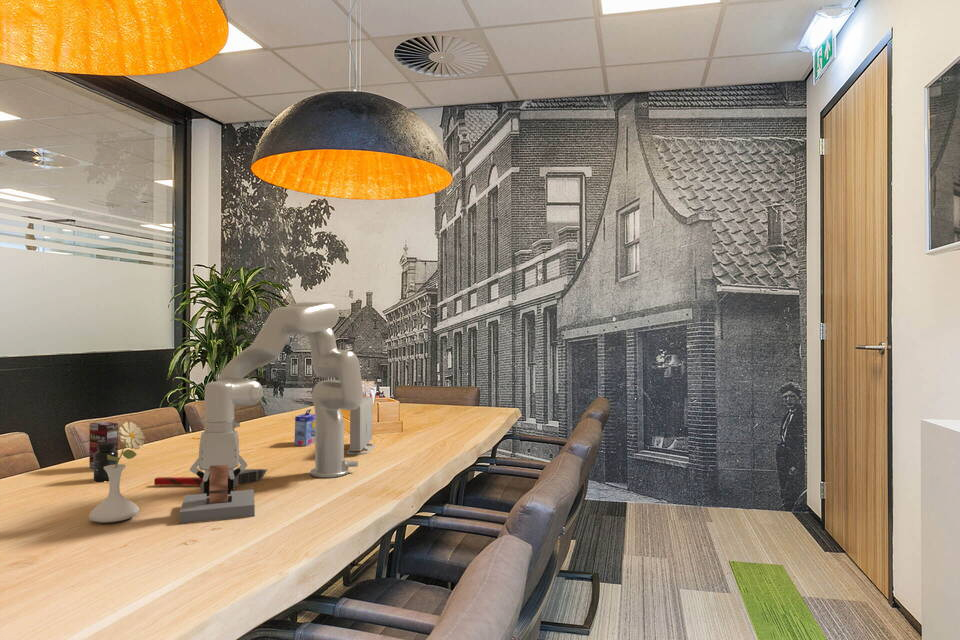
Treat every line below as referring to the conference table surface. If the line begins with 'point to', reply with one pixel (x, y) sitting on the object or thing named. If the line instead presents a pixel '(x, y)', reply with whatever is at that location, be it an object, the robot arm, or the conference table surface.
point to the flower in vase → (115, 503)
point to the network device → (361, 428)
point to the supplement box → (102, 437)
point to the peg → (218, 484)
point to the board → (217, 507)
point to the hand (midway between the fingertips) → (218, 493)
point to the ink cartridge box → (305, 429)
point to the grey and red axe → (241, 478)
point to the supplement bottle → (103, 460)
